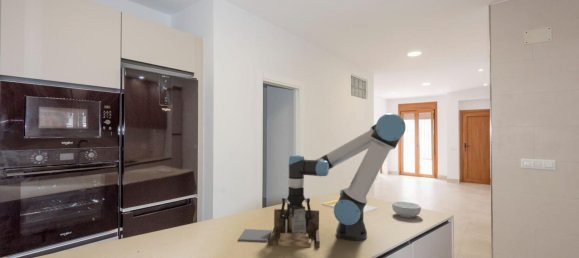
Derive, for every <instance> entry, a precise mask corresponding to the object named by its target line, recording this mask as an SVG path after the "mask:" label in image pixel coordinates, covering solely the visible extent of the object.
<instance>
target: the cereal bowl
mask: <svg viewBox="0 0 579 258" xmlns="http://www.w3.org/2000/svg"><path fill="white" fill-rule="evenodd" d="M391 207H392V211H394V212H395V214H397V215H399V216H400V217H402V218H408V219H409V218H410V219H411V218H413V217H416V216H419V214H420V213H421V211H422V206H421V205H420V204H417V203H415V202H409V201H394V202H392V206H391Z"/></svg>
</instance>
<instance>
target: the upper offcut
mask: <svg viewBox="0 0 579 258" xmlns="http://www.w3.org/2000/svg"><path fill="white" fill-rule="evenodd" d="M279 234H280V235H279V238H280V242H309V239H310V238H309V234H308V233H279Z"/></svg>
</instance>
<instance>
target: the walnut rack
mask: <svg viewBox="0 0 579 258" xmlns="http://www.w3.org/2000/svg"><path fill="white" fill-rule="evenodd" d="M273 209H274V210H273V211H274V213H273V229H272V232H271V234H270V237H269V239H268V246H270V247H271V246H272V247H273V245H274V243H275V240H276V236H277V234H280V233H286V226H284V225H283V218H280V213H281V208H273ZM286 211H287V208H284V212H283V215H285V213H286ZM305 211H306V214H307V216H309V213H308V209H305ZM311 215H312V219H309V220H308V227H306V233H308V235H315V247H316V249H317V248H318V249H319V248H321V247H320V246H321V245H320V244H321V243H320V242H321V240H320V238H321V237H320V210H318V209H311ZM286 218H287V217H286Z"/></svg>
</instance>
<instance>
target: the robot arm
mask: <svg viewBox="0 0 579 258" xmlns="http://www.w3.org/2000/svg"><path fill="white" fill-rule="evenodd" d="M405 132H406V122H405V121H404V118H402V117H401V116H400V115H399V114H395V113H393V112H392V113H390V112H389V113H385V114H383V115H382V116H380V117H379V118H378V119H377V121H376V123H375V124H373V125H372V126H370V128H369V130H367V131H365V132H363V133H362V134H360V135H358V136H356V137H354V138H353V139H351V140H350V141H347V142H346V143H344V144H342V145H340V146H339V147H336V148H335V149H334V150H331V151H330V152H329V153H327V154H325V155H322V156H321V157H319V158H317V159H306V158H305V156H304V155H302V154H301V155H300V154H292V155H290V156H289V157H288V196H286V197H282V198H281V200H282V201H281V202H282V205H281V208H280V209H281V213H280V218H283V225H284V226H286V233H287V231H288V218H286V217H287V215H288V213H289V211H290V206H292V205H295V206H301V207H302V206H304V204H303V203H304V202H305V203H306V207H307V210H308V213H309V216H307V214H306V211H305V233H306V227H308V220H309V219H312V215H311V210H312V208H311V202H310V201H311V199H310V197H305V194H304V192H305V188H304V186H305V184H304V183H305V182H304V181H305V176H314V177H327V176H328V175H329V170H331V169H333V168H335V167H336V166H338V165H341V164H342V163H344V162H346V161H348V160H349V159H351V158H353V157H355V156H357V155H359V154H360V153H363V152H365V151H366V150H367V151H366V153H365V155H364V156H363V159H362V160H361V163H360V165H359V167H358V168H357V170H356V173H355V174H354V176H353V178H352V181H351V182H350V183H349V186H348V187H347V188H343V189H341V190H340V193H339V198H338V200H337V202H336V203H335V205H334V206H333V214H334V217H335V220H337V222H338V224H337V227H336V233H335V234H336V236H337V237H339V238H341V239H343V240H346V241H362V240H365V239H367V237H368V231H367V228H366V225H365V221H364V209H365V207H366V205H367V203H368V199H367V196H368V194H369V191H370V189H371V188H372V186H373V184H374V182H375V180H376V178H377V176H378V174H379V173H380V170H381V168H382V167H383V164H384V163H385V161H386V159H387V157H388V155H389V154H390V152H391V150H394V149H396V147H397V145H398V144H399V142H400V140H401V139H402V137H403V136H404V135H405ZM287 201H288V202H289V203H290V205H289V207H288V209H287V208H286V209H287V211H286V213H285V215H283V212H284V209H285V206H286V202H287Z"/></svg>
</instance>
